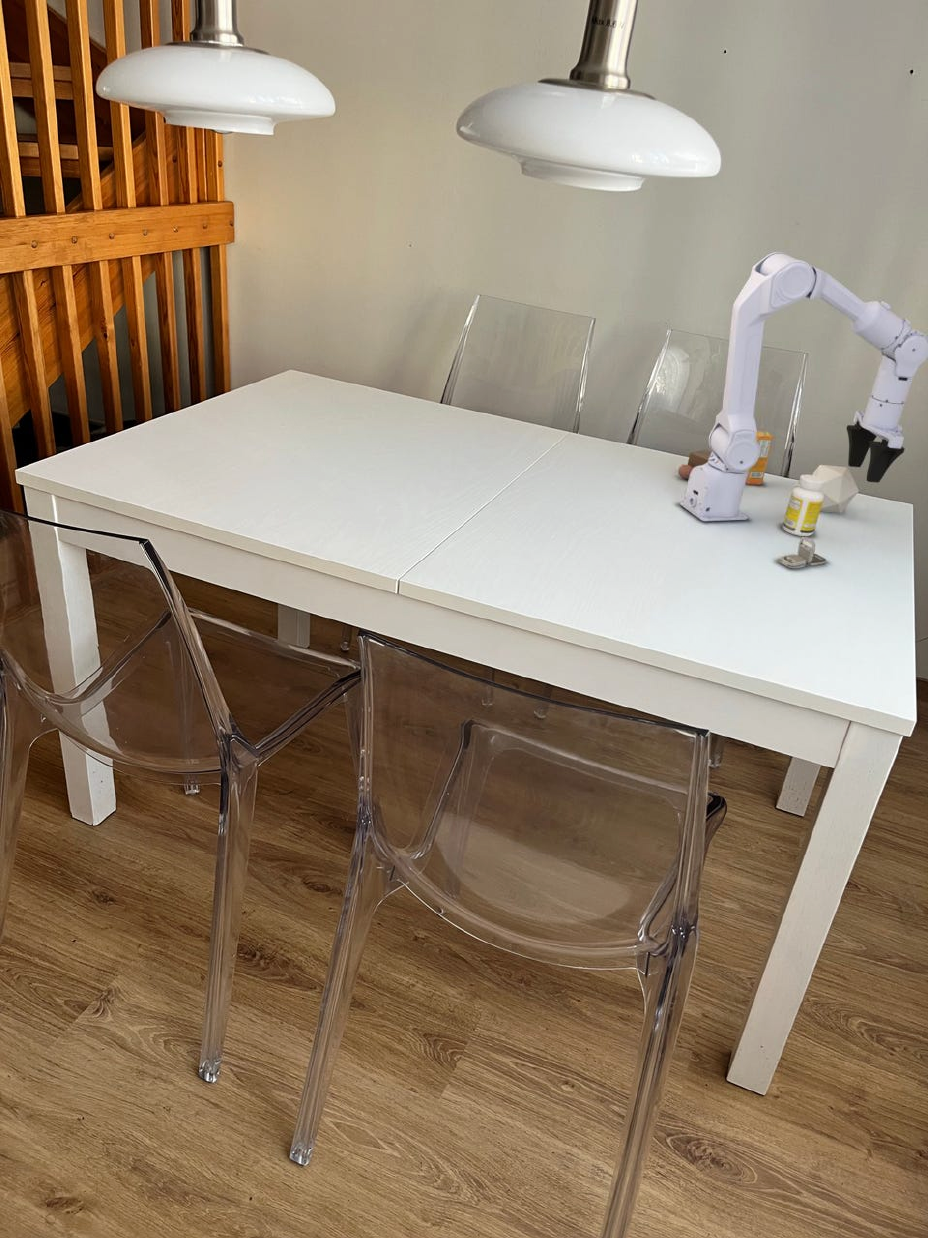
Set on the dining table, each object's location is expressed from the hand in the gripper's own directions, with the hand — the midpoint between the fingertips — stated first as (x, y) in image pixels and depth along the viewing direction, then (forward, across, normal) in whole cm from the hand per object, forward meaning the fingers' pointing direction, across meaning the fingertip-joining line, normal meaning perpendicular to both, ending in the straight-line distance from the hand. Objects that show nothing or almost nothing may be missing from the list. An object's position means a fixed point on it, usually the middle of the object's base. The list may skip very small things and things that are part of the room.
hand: (863, 473), depth 173 cm
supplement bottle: (+10, -6, +12) cm, 16 cm away
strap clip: (+10, -19, +16) cm, 27 cm away
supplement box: (+10, +18, +12) cm, 24 cm away
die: (+10, +6, +2) cm, 12 cm away
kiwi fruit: (+9, +18, +25) cm, 32 cm away
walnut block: (+10, +17, +22) cm, 30 cm away
